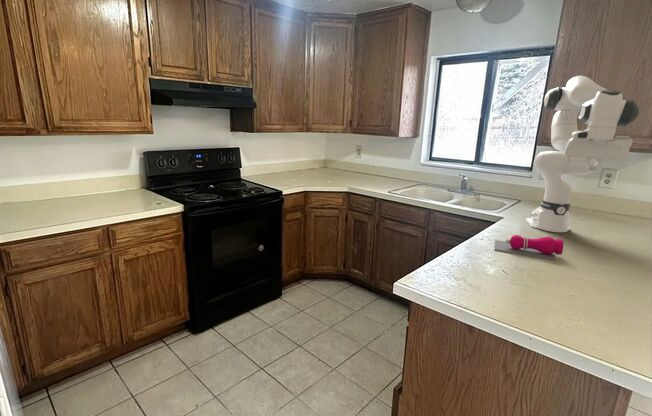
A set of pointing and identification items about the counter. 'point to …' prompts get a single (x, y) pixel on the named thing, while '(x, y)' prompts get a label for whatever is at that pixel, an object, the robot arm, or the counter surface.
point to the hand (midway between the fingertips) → (591, 169)
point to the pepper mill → (537, 244)
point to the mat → (522, 251)
